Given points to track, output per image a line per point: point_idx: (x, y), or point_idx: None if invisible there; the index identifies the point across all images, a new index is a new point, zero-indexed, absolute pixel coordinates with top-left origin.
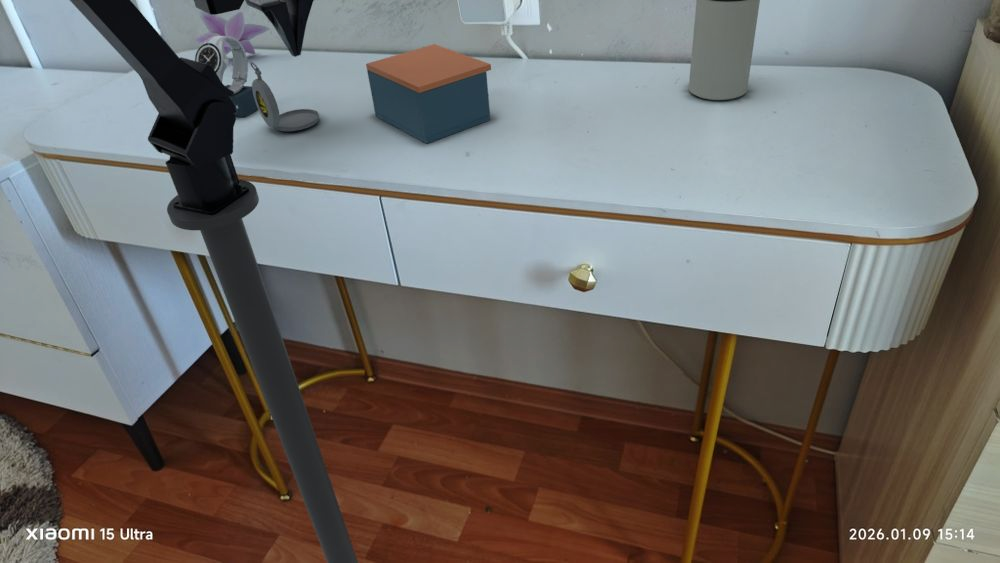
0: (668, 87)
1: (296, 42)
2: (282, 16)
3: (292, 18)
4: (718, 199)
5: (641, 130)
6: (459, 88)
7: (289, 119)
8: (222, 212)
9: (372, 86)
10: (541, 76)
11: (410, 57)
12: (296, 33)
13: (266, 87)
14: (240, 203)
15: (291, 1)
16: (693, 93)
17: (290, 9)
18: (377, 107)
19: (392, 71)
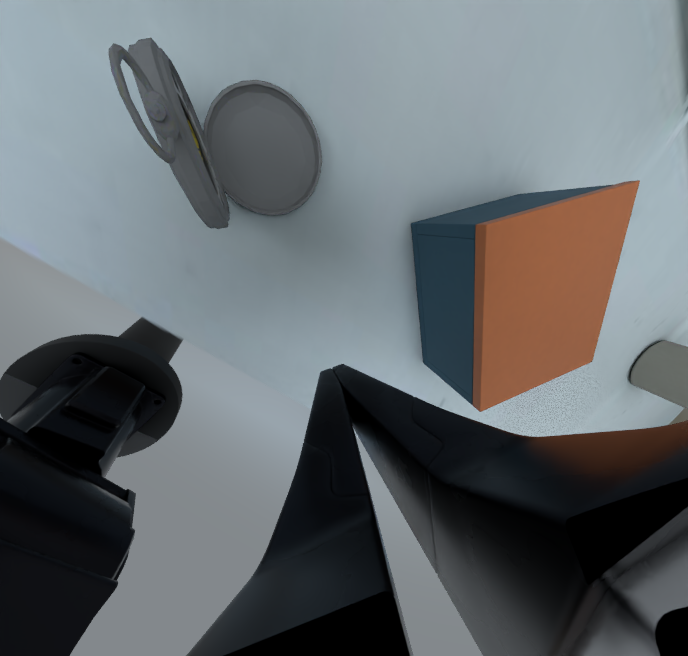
0: (644, 335)
1: (358, 435)
2: (366, 650)
3: (414, 512)
4: None
5: (561, 408)
6: None
7: (250, 114)
8: (127, 447)
9: (449, 236)
10: (633, 220)
11: (561, 247)
12: (379, 471)
13: (199, 193)
14: (155, 430)
15: (499, 642)
16: (635, 366)
17: (449, 554)
18: (423, 240)
19: (494, 316)
